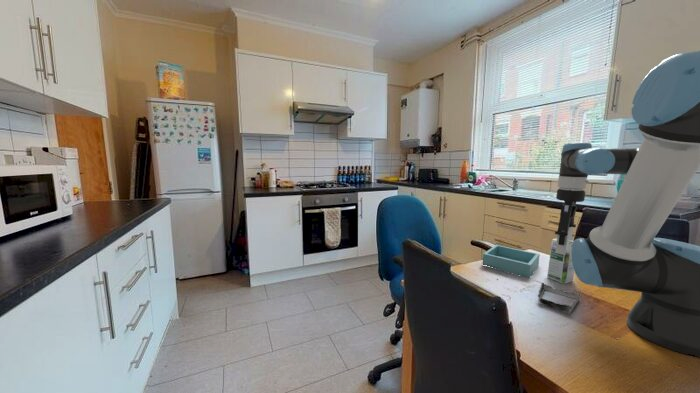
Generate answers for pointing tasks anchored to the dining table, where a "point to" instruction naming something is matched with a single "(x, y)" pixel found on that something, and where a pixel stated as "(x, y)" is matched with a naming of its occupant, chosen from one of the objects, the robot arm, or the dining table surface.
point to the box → (511, 260)
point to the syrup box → (561, 264)
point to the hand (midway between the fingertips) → (563, 248)
